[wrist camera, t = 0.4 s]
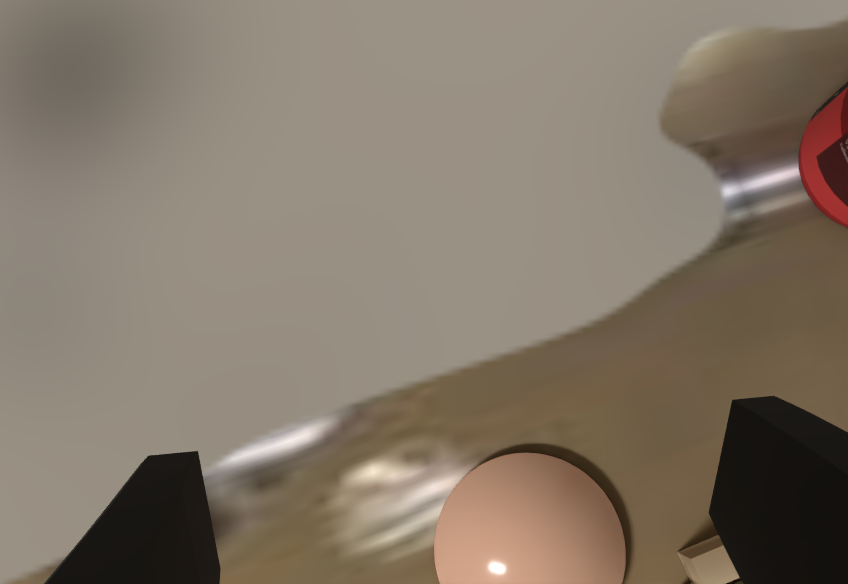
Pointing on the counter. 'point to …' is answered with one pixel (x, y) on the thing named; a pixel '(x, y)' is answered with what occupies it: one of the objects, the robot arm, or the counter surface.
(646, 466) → the counter surface
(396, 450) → the counter surface
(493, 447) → the counter surface
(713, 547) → the oak holder
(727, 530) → the robot arm
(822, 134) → the canned food
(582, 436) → the counter surface
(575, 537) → the terracotta coaster
